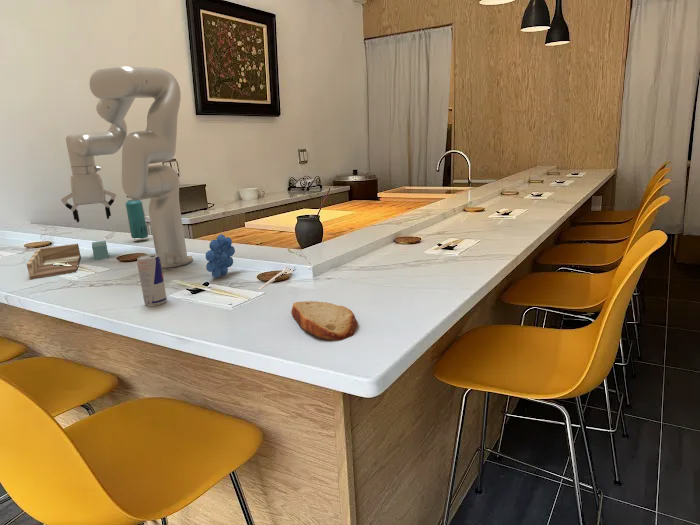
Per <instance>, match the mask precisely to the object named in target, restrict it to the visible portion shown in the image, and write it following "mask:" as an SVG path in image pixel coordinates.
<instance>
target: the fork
mask: <svg viewBox="0 0 700 525" xmlns="http://www.w3.org/2000/svg"><path fill="white" fill-rule="evenodd" d="M289 268H290V267H289ZM289 268H288V267H287V268H286V266H285V267H284V268H283V270H282V271H280V272H279V273H277V274H276V275H274V276H273V277H272V278H271V279H269V280H268V281H267V282H265V283H264V284H263V285H261V286H260V287H259V288H257V290H262V289H263V288H265V287H267V286H268V285H270V284H272V283H273V282H275V281H276V280H275V278H276V277H278V276H280V275H282V274H283V275H288V274H291V273H292V272H294V270H293V269H292V268H291V270H290V269H289ZM285 272H287V273H285ZM283 275H282V276H283ZM280 277H281V276H280Z"/></svg>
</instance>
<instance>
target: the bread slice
mask: <svg viewBox="0 0 700 525" xmlns="http://www.w3.org/2000/svg"><path fill="white" fill-rule="evenodd" d="M290 312H291V316H292V318H293V319H294V321H296V323H297V324H298V325H299V326H300V328H301V329H302V330H304V331H305V332H307V333H309V334H311V335H312V336H315V337H317V338H318V339H322V340H325V341H335V342H338V341H343V340H345V339H348V338H350V337H352V336H354V334H355V331H356V329H358V328H357V327H358V325H359V322H358V320H357V318H356V316H355V314H354V312H353V311H352V310H351V309H350V308H348V307H346V306H344V305H338V304H337V305H336V304H334V303H331V302H326V301H325V302H324V301H313V300H308V301H296V302H293V304H292V307H291V311H290Z"/></svg>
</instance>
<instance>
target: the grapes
mask: <svg viewBox="0 0 700 525" xmlns="http://www.w3.org/2000/svg"><path fill="white" fill-rule="evenodd" d="M232 240H233V239H232V238H231V237H229V236H225V235H224V234H218V235H217V237H216V239H212V240H211V241H210V242H209V249H210V250H207V251H206V253H205V259H206V261H207V263H206V271H207V272H209V273H211V276H212V277H213V278H216V279H217V278H219V277H220V276H221V277H223V276H226V275H227V274H228V272H229V268H231V267H232V266H233V264H234V259H233V255H234V254H235V253H236V249H235V247H234V245H232V244H233V241H232Z"/></svg>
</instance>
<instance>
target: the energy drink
mask: <svg viewBox="0 0 700 525" xmlns="http://www.w3.org/2000/svg"><path fill="white" fill-rule="evenodd" d="M136 263H137V268H138V269H137V271H138V276H139V281H140V287H141V292H142V297H143V304H145V305H146V306H147V305H156V306H159V304H160V305H163V304H165V303H166V302H167V300H168V298H167V291H166V285H165V280H164V275H163V268H161V262H160V258H159V256H158V255H157V254H156V253H151V254H144V255H141V256H139V257H137V261H136Z"/></svg>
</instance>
